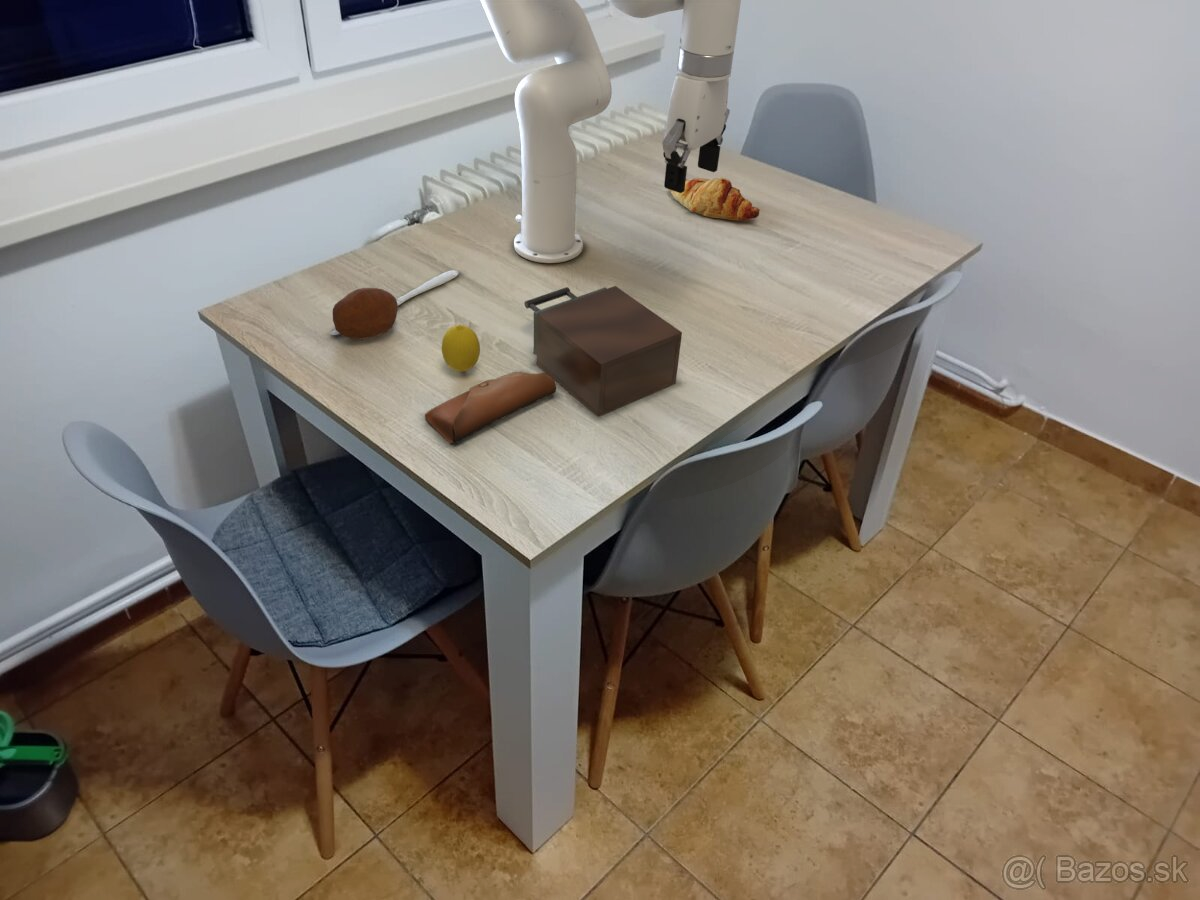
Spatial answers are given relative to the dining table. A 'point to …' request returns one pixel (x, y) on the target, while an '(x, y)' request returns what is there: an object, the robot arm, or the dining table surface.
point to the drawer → (548, 297)
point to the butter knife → (422, 288)
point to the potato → (365, 313)
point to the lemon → (460, 348)
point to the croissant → (715, 199)
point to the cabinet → (607, 349)
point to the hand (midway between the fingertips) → (691, 179)
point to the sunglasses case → (488, 404)
